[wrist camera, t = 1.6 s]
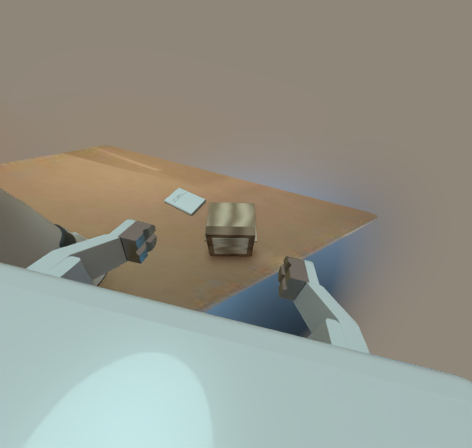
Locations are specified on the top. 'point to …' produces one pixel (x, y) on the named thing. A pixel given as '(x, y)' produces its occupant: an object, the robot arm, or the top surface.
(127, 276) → the top surface
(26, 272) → the robot arm
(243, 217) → the beige square tray
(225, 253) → the walnut picture frame
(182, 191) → the external hard drive
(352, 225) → the top surface
